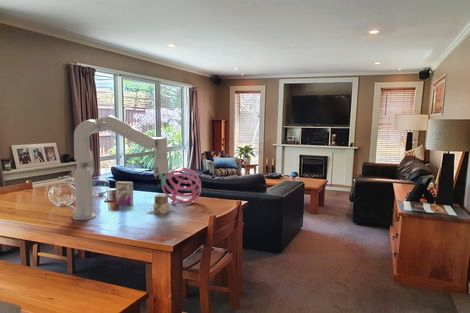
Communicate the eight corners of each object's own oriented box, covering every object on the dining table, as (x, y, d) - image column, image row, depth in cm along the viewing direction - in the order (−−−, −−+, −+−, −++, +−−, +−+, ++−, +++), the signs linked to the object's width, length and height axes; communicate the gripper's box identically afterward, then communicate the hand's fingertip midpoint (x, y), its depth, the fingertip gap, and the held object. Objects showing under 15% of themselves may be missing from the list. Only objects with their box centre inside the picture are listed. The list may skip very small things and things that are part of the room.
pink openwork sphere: (189, 182, 212) (195, 156, 233) (151, 190, 218) (160, 164, 239) (204, 210, 229) (208, 183, 250) (168, 216, 235) (175, 190, 256)
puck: (155, 185, 208) (155, 176, 207) (160, 184, 213) (160, 175, 212) (162, 186, 206) (162, 176, 205) (167, 184, 211) (167, 175, 210)
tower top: (154, 203, 209) (154, 196, 208) (160, 201, 214) (160, 194, 214) (162, 204, 206) (162, 196, 206) (167, 202, 212) (167, 195, 211)
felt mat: (145, 213, 207) (145, 213, 207) (158, 208, 220) (158, 208, 220) (163, 216, 202) (163, 216, 202) (176, 211, 215) (176, 210, 215)
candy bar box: (115, 205, 228) (115, 182, 227) (118, 203, 233) (118, 181, 232) (130, 205, 227) (130, 182, 226) (133, 204, 232) (133, 181, 231)
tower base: (153, 212, 209) (153, 203, 208) (160, 210, 215) (160, 201, 215) (162, 214, 206) (162, 204, 206) (168, 211, 213) (168, 202, 212)
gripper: (164, 155, 217) (164, 181, 218) (148, 157, 201) (148, 185, 203) (173, 155, 214) (173, 182, 216) (157, 157, 198) (158, 186, 200)
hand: (161, 183), depth 209 cm, fingers closed on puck, 5 cm apart
